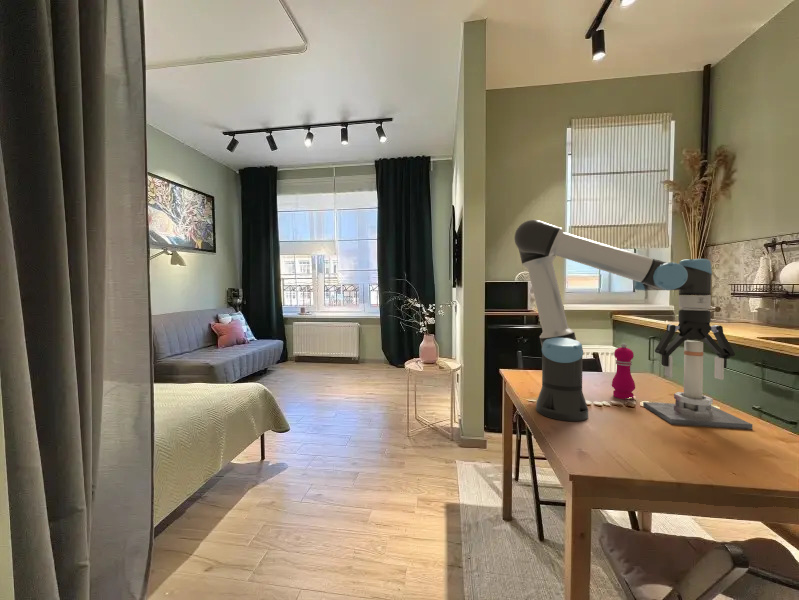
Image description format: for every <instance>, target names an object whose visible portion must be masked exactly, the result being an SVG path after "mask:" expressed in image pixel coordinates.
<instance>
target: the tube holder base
mask: <svg viewBox="0 0 799 600" xmlns="http://www.w3.org/2000/svg"><path fill="white" fill-rule="evenodd" d="M673 398H674V400H675V403H670V402H669V403H668V402H650V401H643V402H642V403H643V408H645V409H646V410H648V411H650V412H652V413H654V414H655V415H656V416H657V417H659V418H661V419H663V420H664V421H666V422H667V423H668V424H671V425H676V426H691V427H692V426H693V427H694V426H695V427H708V428H721V429H724V428H725V429H737V430H750V429H752V430H753V424H752V423H750V422H749V421H747V420H744V419H741V418H740V417H737V416H735V415H733V414H732V413H729V412H727V411H724V410H722V409H721V408H720V409H719V408H717V407H716V406H713V404H714V403H713V402H714V399H713V398H712V397H710V396H709V395H708V396H707V395H705V394H703V399H693V398H688V397H684V391H677V392H675V393H674V394H673ZM684 403H689V404H693V405H696V410H691V409H686V408H684Z"/></svg>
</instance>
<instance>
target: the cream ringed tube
mask: <svg viewBox="0 0 799 600" xmlns="http://www.w3.org/2000/svg"><path fill="white" fill-rule="evenodd" d="M683 343H684V347H683V349H684V350H683V354H684V355H683V356H684V357H683V364H684V365H683V392H684V397H688V398H693V399H703V395H704V394H703V393H704V392H703V391H704V390H703V389H704V388H703V387H704V384H703V383H704V341H702V340H686V341H684V342H683ZM684 408H686V409H691V410H696V405H693V404H689V403H684Z"/></svg>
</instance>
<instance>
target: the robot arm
mask: <svg viewBox="0 0 799 600" xmlns="http://www.w3.org/2000/svg"><path fill="white" fill-rule="evenodd" d="M514 243H515V246H516V248H518V252H519V256H520V261H521V265H522V266H524V267H525V268H527V272H528V276H529V280H530V284H531V288H532V292H533V296H534V301H535V305H536V308H537V312H538V313H537V314H538V316H539V321H540V326H541V330H542V333H540V335H539V341H540V344H541V345H540V346H541V353H542V355H541V356H542V358H541V366H542V367H541V381H542V382H541V389H540V392H539V394H538V397H537V400H536V403H535V407H536V408H535V411H536V412H537V413H539V414H540V415H542V416H544V417H547V418H550V419H554V420H559V421H564V422H565V421H566V422H581V421H585V420H587V419H589V407H588V405H587V401H586V398H585V395H584V392H583V355H584V349H583V344H582V343H581V342H580V341H578V340H577V338H576V334H575V330H573V329H571V328H570V327H569V325H568V321H567V316H566V312H565V308H564V304H563V299H562V295H561V293H560V292H561V291H560V287H559V285H558V280H557V275H556V271H555V267H554V264H553V262H554V261H555V259H556V256H557V257H560V258H563V259H566V260H569V261H572V262H575V263H579V264H582V265H585V266H589V267H591V268H595V269H597V270H601V271H603V272H604V271H605V273H606V272H607V273H609V274H610V273H611V274H613V275H617V276H619V277H622V278H626V279H629V280H632V287H633V288H634V290H636V291H644V292H647V291H678V308H679V310H678V313H677V314H678V317H677V319H678V325H677V324H676V325H675V324H672V323H671V324H670V323H669V324H666V329H665V330H666V331H665V332H664V334H663V335H662V337H661V339H660V341H659V342H658V343H657V345H656V347H655V349H654V353H657V354H659V355H660V356H661V365H662V366H663V367H664V377H667V378H671V379H672V378H673V359H674V358H673V356H672V354H673V353H674V352H675V350H676V349H678V348H679V347H680V346H681V345H682V344H683V343H684V341H688V340H689V341H695V340H697V341H702V342H703V343H705V344H706V345H707V347H709V348H710V349H711V351H713V352H714V353H715V354H716V355H717V356H714V368H713V369H714V370H713V371H714V373H713V375H714V377H713V378H714V379H718V380H721V381H724V378H725V376H724V375H725V371H724V370H725V369H727V366H728V365H727V364H728V362H727V361H728V360H727V359H730V357H734V356H735V355H736V353H735V351H734V349H733V348H732V346H731V344H730V343H729V340H728V338H727V337H726V335H725V334H724V327H723V325H718V324H713V325H711V324H710V323H711V320H712V317H711V316H712V315H711V314H712V311H710V309H711V307H712V304H711V303H712V277H713V271H712V262H711V261H710V259H708V258H691V259H690V258H689V259H682V260H680V261H679V263H677V262H672V261H671V262H667V261H663V260H659V259H655V258H652V257H649V256H646V255H643V254H639V253H635V252H632V251H628V250H626V249H622V248H618V247H616V246H612V245H609V244H605V243H602V242H598V241H595V240H592V239H588V238H586V237H581V236H577V235H575V234H571V233H567V232H564V230H563V228H562V227H559V226H557V225H553V224H550V223H547V222H546V221H545V222H544V221H542V220H537V219H529V220H526V221H524V222H522V223H521V224H520V225H519V226H518V227H517V228H516V230H515V233H514ZM677 331H678V332H679V333H678V334H677V335H676V336H675V338H674V339H673V337H674V335H675V334H676V332H677ZM710 332H712V333H713V335H714V337H715V340H716V341H717V342H716V341H715V340H714V338H713V337H712V336H711V335H710V334H709V333H710ZM671 340H672V341H671Z"/></svg>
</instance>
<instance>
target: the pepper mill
mask: <svg viewBox="0 0 799 600" xmlns="http://www.w3.org/2000/svg"><path fill="white" fill-rule="evenodd" d="M620 346H621V347H618V348H616V349H615V350H614V352H613V354H614V358H615V365H616V372H615V374H614V376H613V378H612V381H611V386H612V388H613V389H614V390H613V392H612V393H613V394H612V395H613V397H614V398H616V399H620V400H626V399H625V398H629V397H632V398H633V399H634V396H635V395H634V392H633V391H635V389H636V383H635V380H634V378H633V376H632V372H631V367H632V365H633V364H632V363H633V361H632V360H633V359H634V352H633V350H632V349H630V348H628V346H627V343H621V344H620Z"/></svg>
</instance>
